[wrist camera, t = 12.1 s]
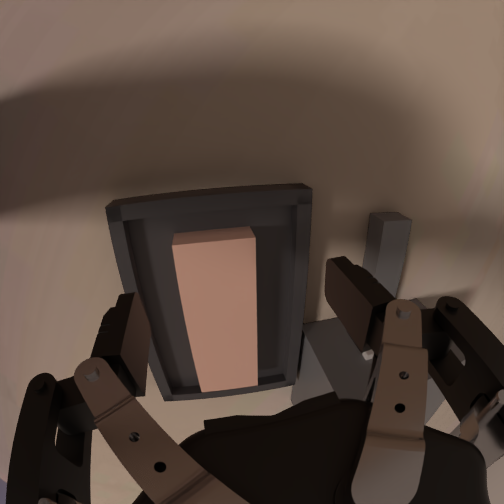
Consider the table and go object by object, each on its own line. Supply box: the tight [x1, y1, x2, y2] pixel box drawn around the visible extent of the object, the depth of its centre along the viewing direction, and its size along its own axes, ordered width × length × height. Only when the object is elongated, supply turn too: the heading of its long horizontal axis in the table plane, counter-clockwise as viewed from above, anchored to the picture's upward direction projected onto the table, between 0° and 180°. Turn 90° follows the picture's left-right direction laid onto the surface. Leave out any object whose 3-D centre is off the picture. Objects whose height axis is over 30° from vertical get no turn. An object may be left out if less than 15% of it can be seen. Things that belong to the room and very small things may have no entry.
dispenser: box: [291, 212, 465, 425], centre depth 21 cm, size 22×14×10 cm, turn 1°
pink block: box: [172, 226, 258, 392], centre depth 20 cm, size 14×5×2 cm, turn 1°
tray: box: [105, 183, 312, 401], centre depth 21 cm, size 19×13×2 cm
